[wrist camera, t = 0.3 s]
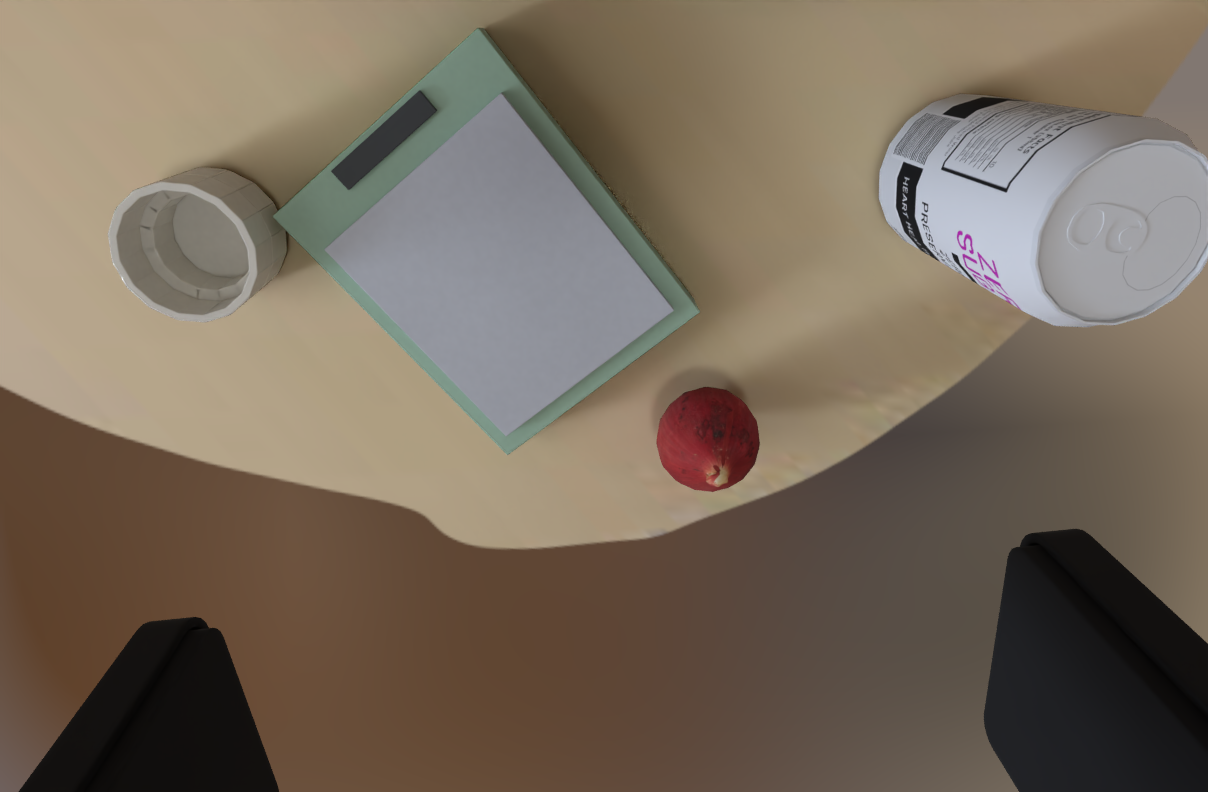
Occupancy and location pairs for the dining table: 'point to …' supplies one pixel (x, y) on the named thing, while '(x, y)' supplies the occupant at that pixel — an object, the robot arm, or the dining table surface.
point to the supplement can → (1052, 204)
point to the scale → (489, 247)
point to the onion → (708, 439)
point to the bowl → (197, 243)
